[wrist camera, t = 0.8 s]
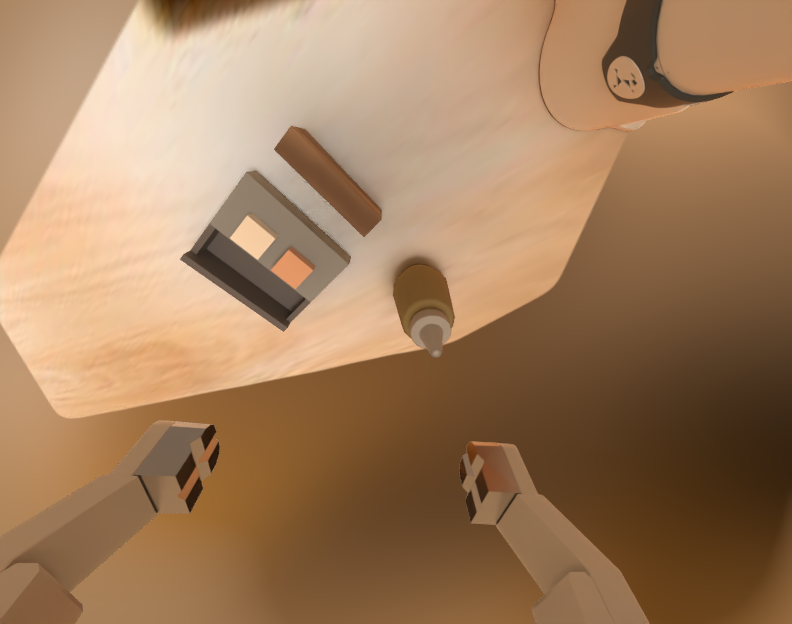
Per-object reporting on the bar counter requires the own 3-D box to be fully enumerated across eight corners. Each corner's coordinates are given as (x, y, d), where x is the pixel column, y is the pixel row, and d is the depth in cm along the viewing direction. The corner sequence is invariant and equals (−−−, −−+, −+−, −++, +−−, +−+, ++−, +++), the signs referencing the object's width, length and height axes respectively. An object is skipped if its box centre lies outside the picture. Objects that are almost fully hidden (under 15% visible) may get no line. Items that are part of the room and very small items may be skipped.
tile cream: (252, 212, 36) (247, 215, 35) (279, 235, 37) (275, 238, 36) (235, 235, 37) (229, 238, 36) (261, 256, 39) (257, 259, 37)
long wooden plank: (305, 129, 34) (291, 126, 29) (381, 210, 39) (381, 219, 34) (290, 149, 35) (273, 149, 30) (366, 225, 40) (364, 237, 35)
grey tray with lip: (256, 170, 36) (240, 173, 32) (350, 257, 42) (347, 268, 38) (199, 248, 41) (179, 259, 37) (292, 316, 47) (283, 331, 43)
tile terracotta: (291, 246, 38) (288, 249, 37) (315, 266, 40) (313, 270, 38) (274, 266, 39) (270, 270, 38) (298, 284, 41) (295, 289, 40)
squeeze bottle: (433, 308, 47) (458, 388, 32) (386, 298, 46) (387, 375, 30) (451, 264, 43) (488, 329, 28) (400, 250, 42) (409, 311, 26)
